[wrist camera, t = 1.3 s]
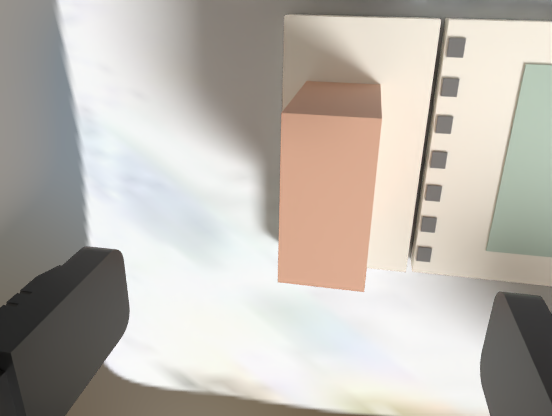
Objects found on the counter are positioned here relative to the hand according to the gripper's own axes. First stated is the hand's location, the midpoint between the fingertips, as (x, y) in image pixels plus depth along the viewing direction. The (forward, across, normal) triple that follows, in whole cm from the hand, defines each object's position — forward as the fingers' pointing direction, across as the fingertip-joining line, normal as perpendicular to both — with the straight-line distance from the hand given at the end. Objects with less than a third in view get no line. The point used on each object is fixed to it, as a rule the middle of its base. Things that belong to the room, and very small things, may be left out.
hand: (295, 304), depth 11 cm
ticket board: (+13, -10, 0) cm, 16 cm away
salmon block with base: (+13, -1, 0) cm, 13 cm away
